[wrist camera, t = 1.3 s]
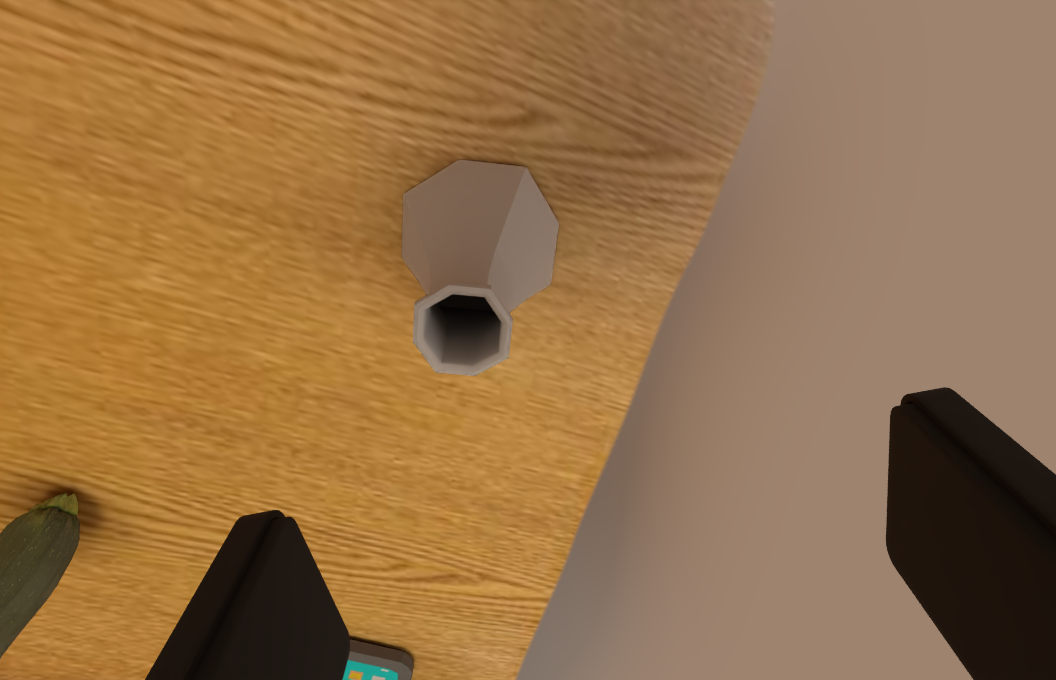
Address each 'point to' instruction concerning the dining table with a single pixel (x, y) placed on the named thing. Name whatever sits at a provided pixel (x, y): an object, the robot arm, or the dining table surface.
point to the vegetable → (34, 561)
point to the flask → (475, 260)
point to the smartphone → (377, 663)
